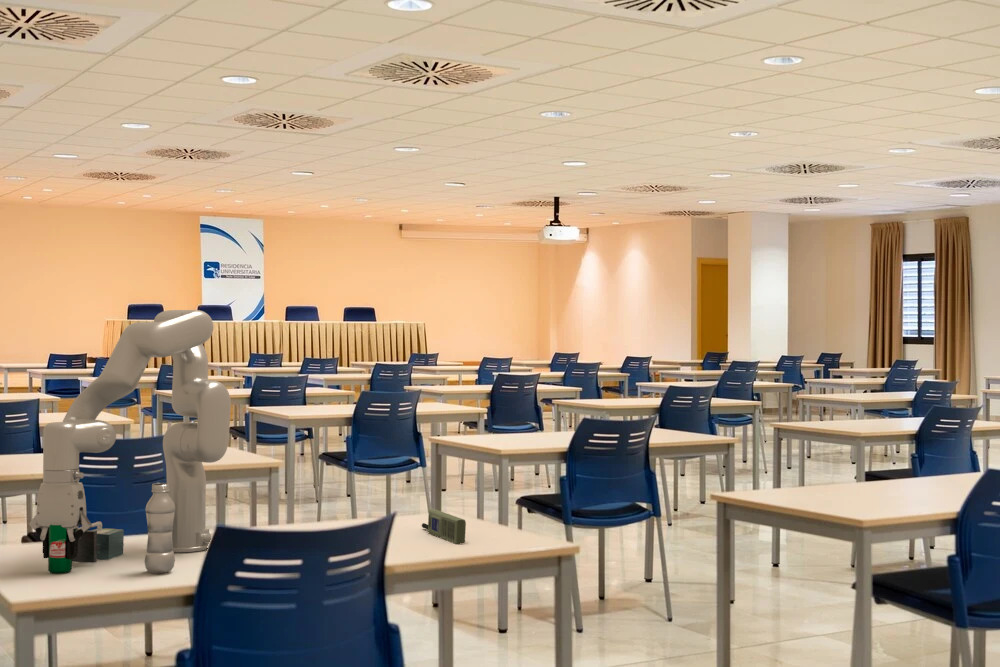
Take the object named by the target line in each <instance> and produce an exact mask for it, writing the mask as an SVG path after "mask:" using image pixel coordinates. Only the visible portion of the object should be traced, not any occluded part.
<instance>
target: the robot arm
mask: <svg viewBox="0 0 1000 667" xmlns="http://www.w3.org/2000/svg"><path fill="white" fill-rule="evenodd" d="M213 331H214V322H213V319H212V317H211V316H210V315H209V314H208V313H206V311H203V310H200V309H170V310H163V311H161V312H159V313H157V315H156V316H154V319H153V321H140V322H133V323H131V324H130V323H129V324H128V325H127V326H126V327H125V329H124V330H123V332H122V333H121V335H120V337H119V338H118V341H117V342H116V344H115V347H114V349H113V350H112V353H111V354H110V357H109V358H108V360H107V362H106V364H105V366H104V368H103V370H102V371H101V373H100V375H99V376H97V378H95V379H94V380H93V381H92V382H91V383H90V384H88V386H86V388H85V389H83V390H82V391H81V392H80V394H78V396H77V397H75V398H74V400H73V402H72V403H71V404H70V406H69V408H68V410H67V412H66V413H65V415H64V418H63V420H62V421H56V422H53V421H52V422H49V423H47V424H45V426H44V427H43V434H42V435H43V442H42V443H43V446H42V447H43V448H42V449H43V451H42V452H43V453H42V454H43V455H42V457H43V459H42V462H43V463H42V468H43V469H42V482H41V483H40V486H39V490H38V494H37V501H36V512H35V515H34V516H33V518H32V519H31V521H30V522H29V524H28V525H29V526H30V528H32V529H33V530H34V531H35V533H36V534H37V535H38V536H39V538H40V541H42V554H43V559H48V530H49V526H50V524H52V523H58V524H60V525H61V526H62V527H63V528H67V532H68V536H69V541H68V542H67V559H73V558H76V557H77V554H78V540H79V539H80V538H81V536H82V535H83V534H84V533H85V532H86V531H88V530H89V531H90V529H91V528H93V527H92V524H93V523H91V521H90V520H89V518H88V517H87V502H86V495H85V488H84V485H83V482H79V481H80V479H83V478H85V477H84V476H85V474H84V472H81V471H80V453H94V454H98V453H104V452H106V451H108V450H110V449H111V448H112V447H114V446H113V445H114V444H115V442H116V440H117V433H116V430H115V428H114V426H113V425H112V424H110V423H109V422H107V421H106V420H105V421H104V420H100V419H97V418H98V416H99V415H100V414H101V412H102V411H103V410H104V409H105V408H106V407H108V406H109V405H111V404H113V403H114V402H116V401H118V400H120V399H122V398H124V397H126V396H128V395H129V394H131V393H133V392H134V390H136V388H137V387H138V385H139V383H140V380H141V379H142V376H143V374H144V372H145V370H146V368H147V366H148V364H149V363H150V360H151V359H152V358H168V357H171V358H172V364H173V367H172V370H173V371H172V372H173V373H172V385H171V386H172V387H171V388H172V389H171V407H172V409H173V411H174V413H176V414H177V415H178V416H180V417H181V416H182V417H187V418H196V419H197V422H185V421H183V422H177V423H174V424H172V425H171V426H169V427H168V428H167V430H166V431H165V433H164V435H163V439H162V449H163V455H164V460H165V467H166V483H168V484H169V492H168V495H169V496H170V498H171V499H172V500H173V502H174V504H175V511H174V512H175V513H174V520H173V530H172V542H173V551H174V553H191V552H193V553H194V552H200V551H204V550H207V549H206V548H207V546H208V544H209V542H210V540H211V537H212V534H211V533H210V528H206V519H207V518H206V517H207V516H206V514H207V513H206V506H207V505H206V502H207V497H206V496H207V494H206V492H207V491H206V490H207V476H206V470H205V467H204V463H205V464H207V463H210V464H211V463H216V462H218V461H220V460H222V458H223V457H224V456H225V455H226V453H227V451H228V450H227V449H228V446H229V441H230V440H229V438H230V427H231V426H230V424H231V412H232V411H231V410H232V409H231V408H232V401H231V395H230V393H229V392H230V391H228V388H227V387H226V386H225V385H224V384H223V383H222V382H220V381H217V380H212V379H209V360H208V354H207V350H206V348H205V347H204V344H205V343H207V341H208V340H210V338H211V337H212V335H213V333H214V332H213ZM79 526H80V527H81V528H80V527H79ZM79 528H80V529H79Z"/></svg>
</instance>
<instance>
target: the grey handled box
mask: <svg viewBox="0 0 1000 667" xmlns="http://www.w3.org/2000/svg"><path fill="white" fill-rule="evenodd" d="M91 524H92V527H91V528H95V527H96V529H97V531H102V529H103V523H102V521H96V522H93V523H91ZM81 527H82V526H80V527H78V528H79V529H80V528H81ZM97 531H91V530H90V529H89V530H88V531H86V532H85V533H84V534H83V535H82V536H81V538H80V539H79V540H78V554H77V557H76V558H73V559H72V563H87V564H88V563H91V564H94V563H97V561H98V559H97V551H99V550H100V546H99V545H97Z"/></svg>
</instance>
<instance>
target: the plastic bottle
mask: <svg viewBox="0 0 1000 667" xmlns="http://www.w3.org/2000/svg"><path fill="white" fill-rule="evenodd" d="M168 492H169V484H168V483H167V482H156V483H152V485H151V493H152V495H151V497H150V498H149V500H148V501H147V503H146V506H145V515H146V522H147V541H146V542H147V546H146V552H145V555H144V556H145V557H144V566H145V567H144V568H145V569H146V571H147V572H149V573H155V574H163V573H167V572H170V571H172V570H173V569H174V567H175V563H176V562H175V561H176V558H175V552H174V551H173V542H172V530H173V520H174V513H175V512H174V511H175V504H174V502H173V500H172V499H171V498H170V496H169V495H168Z"/></svg>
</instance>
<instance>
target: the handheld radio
mask: <svg viewBox="0 0 1000 667" xmlns="http://www.w3.org/2000/svg"><path fill="white" fill-rule="evenodd" d="M427 516H428V519H427V520H428V522H427V523H424V522H423V523H422V524H421V528H424V529H426V530H427V533H428V532H429V533H428V534H430V533H431V535H432V534H433V536H435V535H436V536H435V537H437V536H438V538H440V537H441V538H440V539H442V538H443V539H442V540H445V541H447V540H448V541H447V542H449V541H450V543H452V542H453V543H452V544H454V543H455V545H461V544H460V543H464V544H465V542H466V528H467V527H466V526H467V522H466V519H464V518H462V517H461V518H460V517H458V516H456V515H452V514H450V513H447V512H444V511H441V510H438V509H435V508H428V515H427Z"/></svg>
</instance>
